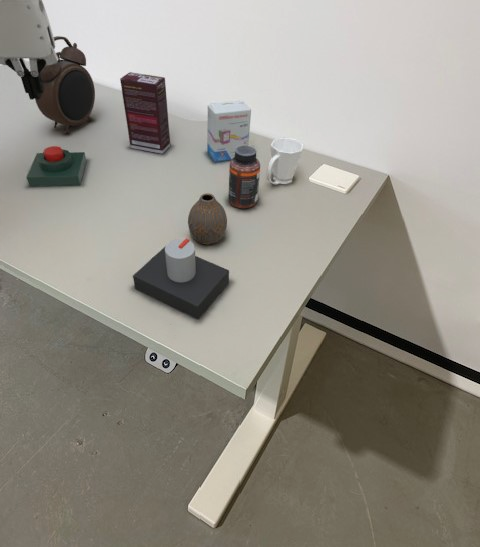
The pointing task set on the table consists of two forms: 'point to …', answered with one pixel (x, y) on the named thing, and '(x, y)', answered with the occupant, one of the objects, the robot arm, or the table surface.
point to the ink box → (227, 129)
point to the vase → (207, 220)
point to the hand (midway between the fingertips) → (36, 96)
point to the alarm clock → (67, 88)
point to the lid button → (53, 153)
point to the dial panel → (182, 285)
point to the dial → (180, 260)
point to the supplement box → (146, 111)
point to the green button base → (57, 170)
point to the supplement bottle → (244, 177)
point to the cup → (284, 160)
